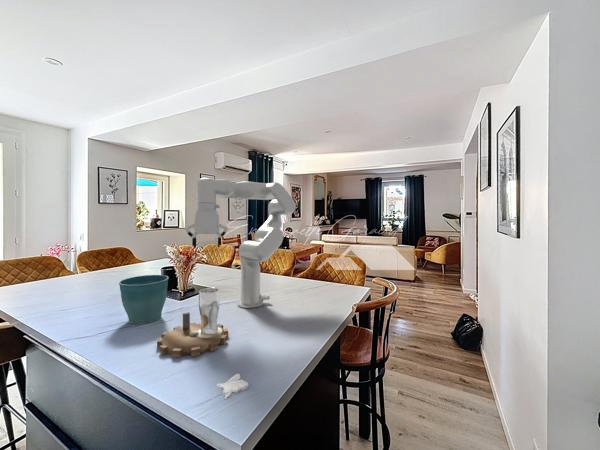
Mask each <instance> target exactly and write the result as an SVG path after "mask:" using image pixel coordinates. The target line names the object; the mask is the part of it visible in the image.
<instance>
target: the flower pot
mask: <svg viewBox="0 0 600 450" xmlns="http://www.w3.org/2000/svg"><path fill="white" fill-rule="evenodd" d="M168 283H169V276H168V275H163V274H148V275H147V274H145V275H137V276H132V277H128V278H124V279H121V280H119V281H118V285H119V290H120V297H121V303H122V306H123V309H124V310H125V311H124V312H125V313H126V315H127V317H128V318H127V319H128V323H130V324H133V325H143V324H144V325H145V324H148V323H152V322H155V321H157V320H159V319H160V318H161V317H162V312H163V310H164V309H163V308H164V306H165V303H166V300H167V295H168V285H169V284H168Z"/></svg>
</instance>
